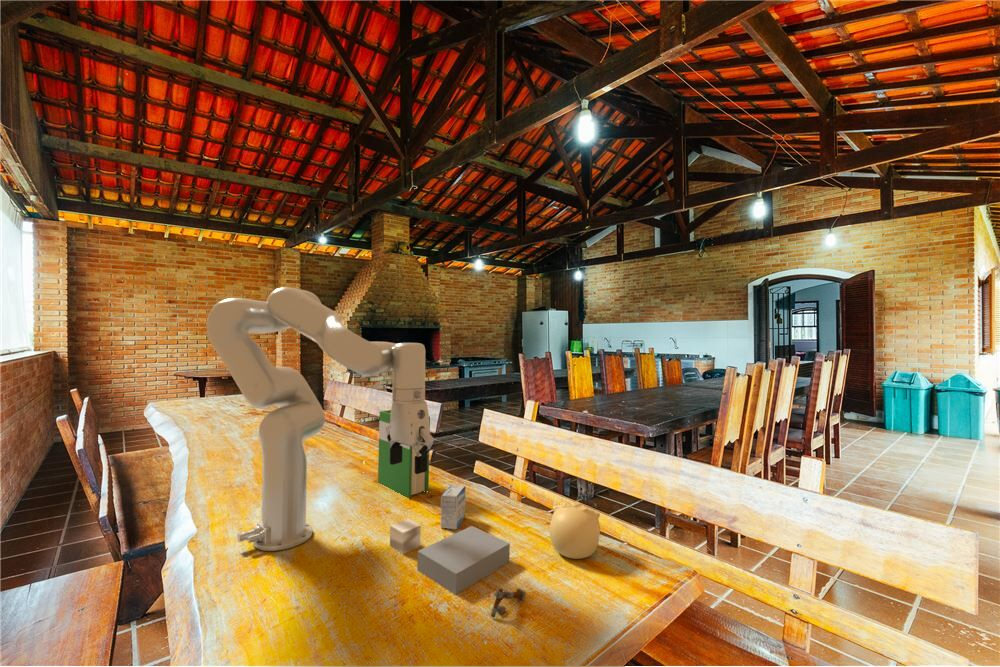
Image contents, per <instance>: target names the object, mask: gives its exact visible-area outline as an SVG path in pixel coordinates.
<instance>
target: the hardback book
mask: <svg viewBox="0 0 1000 667" xmlns="http://www.w3.org/2000/svg"><path fill="white" fill-rule="evenodd" d="M378 417H379V422H378V424H379V425H378V426H379V427H378V467H377V468H378V469H377V471H378V472H377V475H378V476H377V484H378V483H380V484H382V485H384V486H386V487H388V488H390V489H392V490H394V491H395V492H397V493H400V494H401V495H403V496H405V497H407V498H410V499H412V496H413V495H415V494H419V493H423V492H422V491H425V492H427V491H428V492H429V485H430V481H429V479H430V453H429V454H428V455H427V471H426V472H423V473H420V474H415V456H417V455H416V452H415V450H414V448H413V447H412V446H408V445H404V444H401V445H400V446H402V462H401V463H397V464H394V465H391V464H390V447H389V441H388V439H387V432H386V427H387V426H388V425H390V417H391V409H389V410H382V411H381V410H380V411H379V415H378ZM429 426H430V427H431V416H430V415H429ZM421 448H422V446H419V449H421ZM395 492H394V493H395ZM397 493H396V494H397ZM401 495H400V496H401ZM403 496H402V497H403ZM405 497H404V498H405ZM407 498H406V499H407Z"/></svg>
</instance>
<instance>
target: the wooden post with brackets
mask: <svg viewBox="0 0 1000 667" xmlns="http://www.w3.org/2000/svg"><path fill="white" fill-rule="evenodd" d="M493 595H494V597H495V599H494V600H495V601H494V604H493V606H492V607H491V608H492V609H491V612H490V613H491V614H490V617H491V618H496V616H497V613H498V614H500V615H502V614H504V613H503V612H505V613H506V611H507V608H506V607H505V606H504V605H500V604H501V602H502V600H503V599H505V600H513V599H515V600H517V601H519V602H520V601H521V602H520V603H523V602H524V600H525V596H526V591H524V590H523V589H522V588H516V590H515V591H507V590H503V588H501V587H500V588H499V589H496V590H495V591H494V594H493ZM505 610H506V611H505Z"/></svg>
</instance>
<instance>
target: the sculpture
mask: <svg viewBox="0 0 1000 667" xmlns="http://www.w3.org/2000/svg"><path fill="white" fill-rule="evenodd" d="M552 510H553V514H552V516H551V520H550V524H549V538H550V542H551V545H552V546H553V548H554V550H555V551H556V552H557V553H558V554H560V555H562V556H564V557H566V558H569V559H577V560H579V559H584V558H588V557H590V556H591V555H593V554H594V553H595V552H596V550H597V548H598V546H599V542H600V536H601V526H600V525H601V524H600V519H599V518H600V515H601V513H600V512H598V511H597V510H595V509H593V508H590V507H587V506H585V505H584V504H583V503H582V502H578V501H572V502H570V503H566V504H565V503H561V504H556V505H553V507H552Z"/></svg>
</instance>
